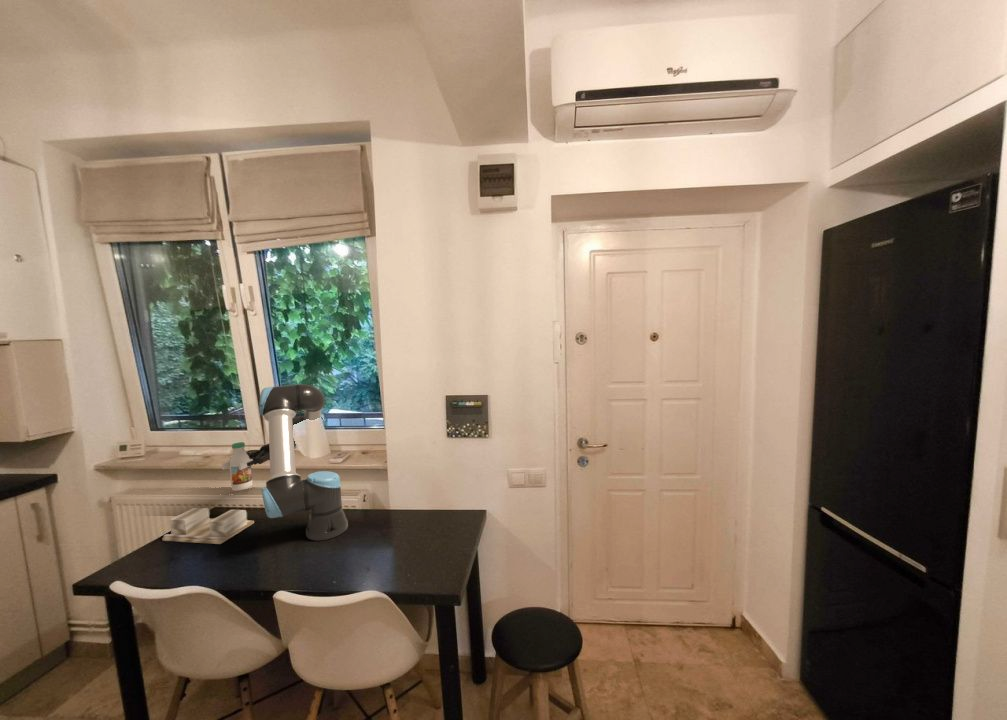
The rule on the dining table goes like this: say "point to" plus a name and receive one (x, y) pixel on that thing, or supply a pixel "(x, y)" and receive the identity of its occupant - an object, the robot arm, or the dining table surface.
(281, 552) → the dining table surface
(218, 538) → the rail board
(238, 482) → the milk bottle
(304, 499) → the robot arm
